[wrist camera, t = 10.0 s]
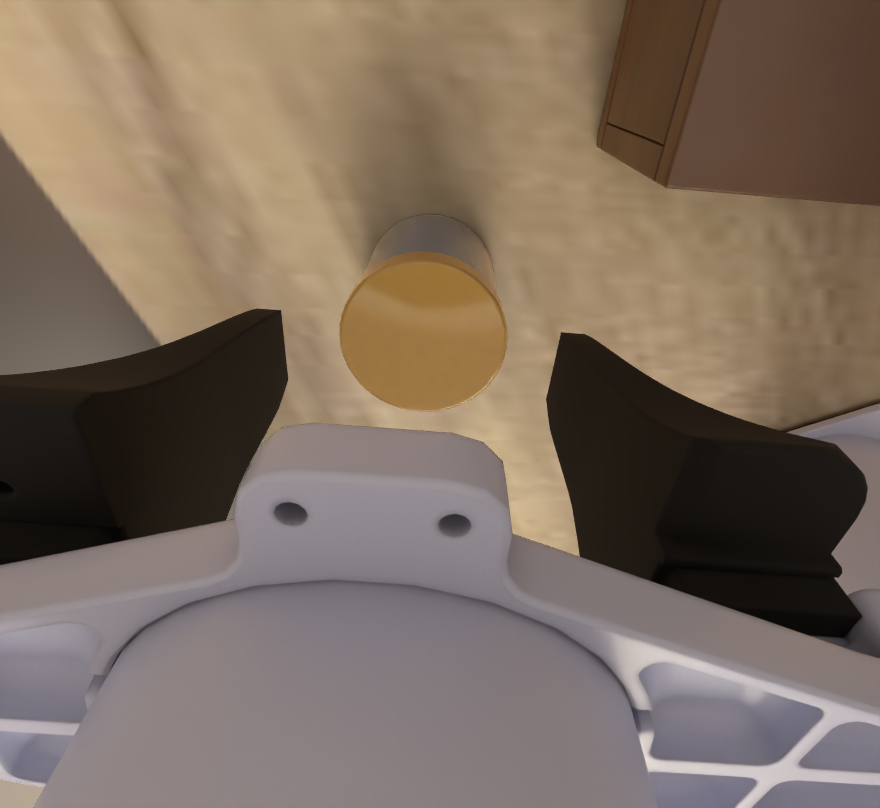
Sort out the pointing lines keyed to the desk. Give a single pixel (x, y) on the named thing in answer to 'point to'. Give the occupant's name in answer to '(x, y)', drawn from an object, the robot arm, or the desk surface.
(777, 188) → the cabinet
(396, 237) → the tan grey cylinder
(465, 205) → the desk surface
